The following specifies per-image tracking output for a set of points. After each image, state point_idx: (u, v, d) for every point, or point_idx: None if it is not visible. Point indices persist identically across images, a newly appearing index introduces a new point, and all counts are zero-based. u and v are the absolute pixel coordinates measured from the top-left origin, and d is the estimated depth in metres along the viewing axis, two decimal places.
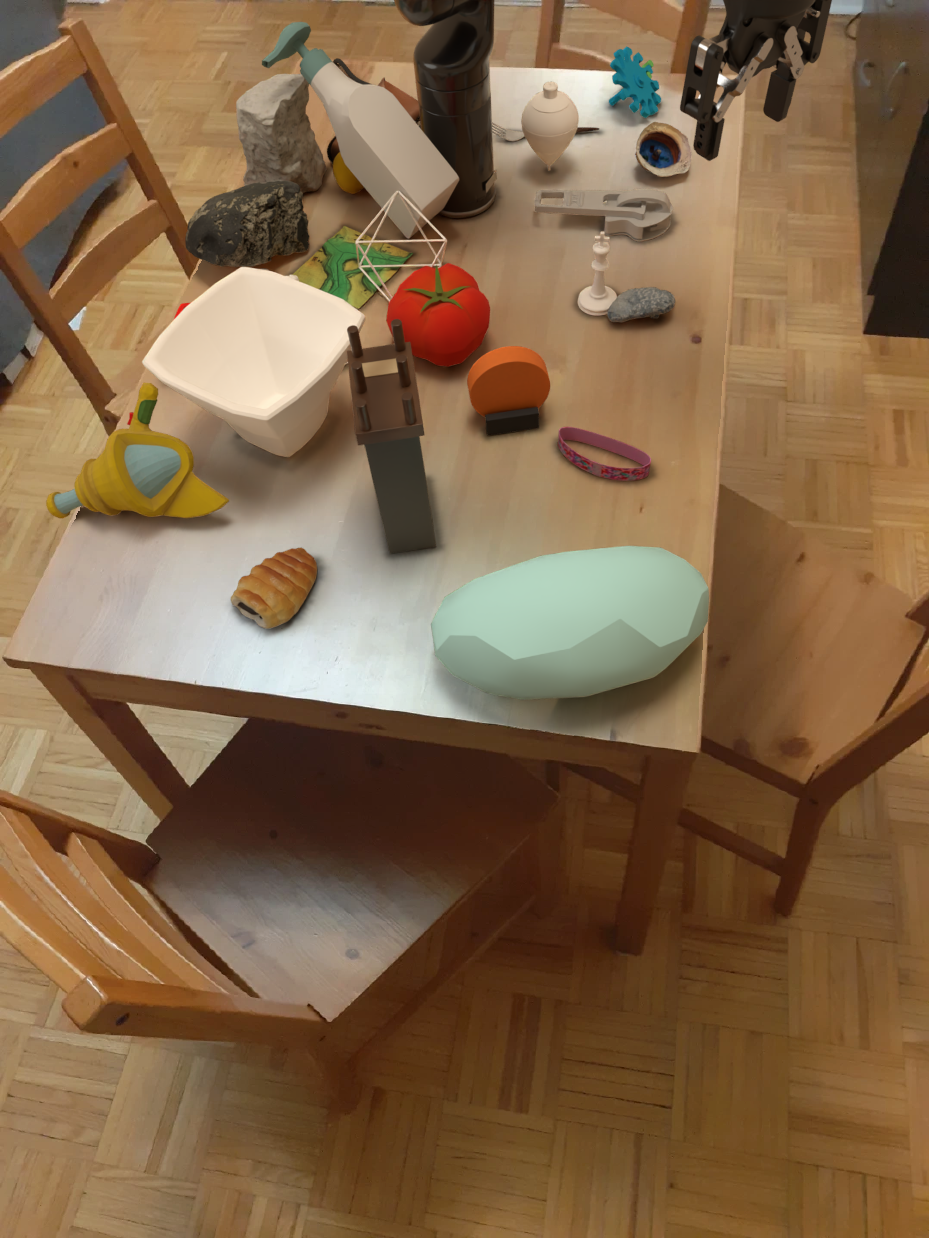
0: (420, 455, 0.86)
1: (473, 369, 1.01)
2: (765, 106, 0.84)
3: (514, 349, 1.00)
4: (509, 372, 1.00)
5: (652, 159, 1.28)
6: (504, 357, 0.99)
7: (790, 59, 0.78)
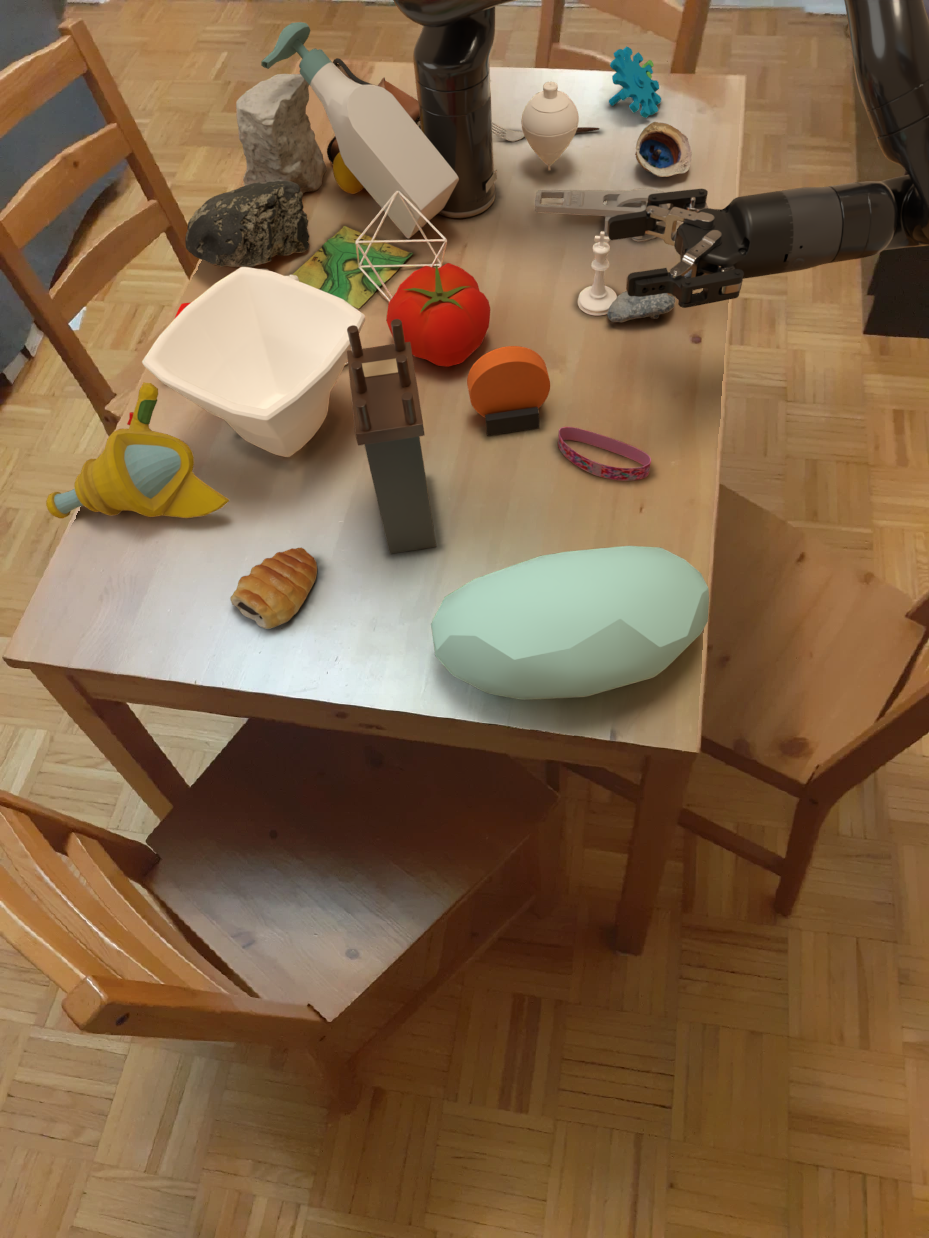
0: (420, 455, 0.86)
1: (473, 369, 1.01)
2: (617, 222, 0.92)
3: (514, 349, 1.00)
4: (509, 372, 1.00)
5: (652, 159, 1.28)
6: (504, 357, 0.99)
7: (674, 245, 0.93)
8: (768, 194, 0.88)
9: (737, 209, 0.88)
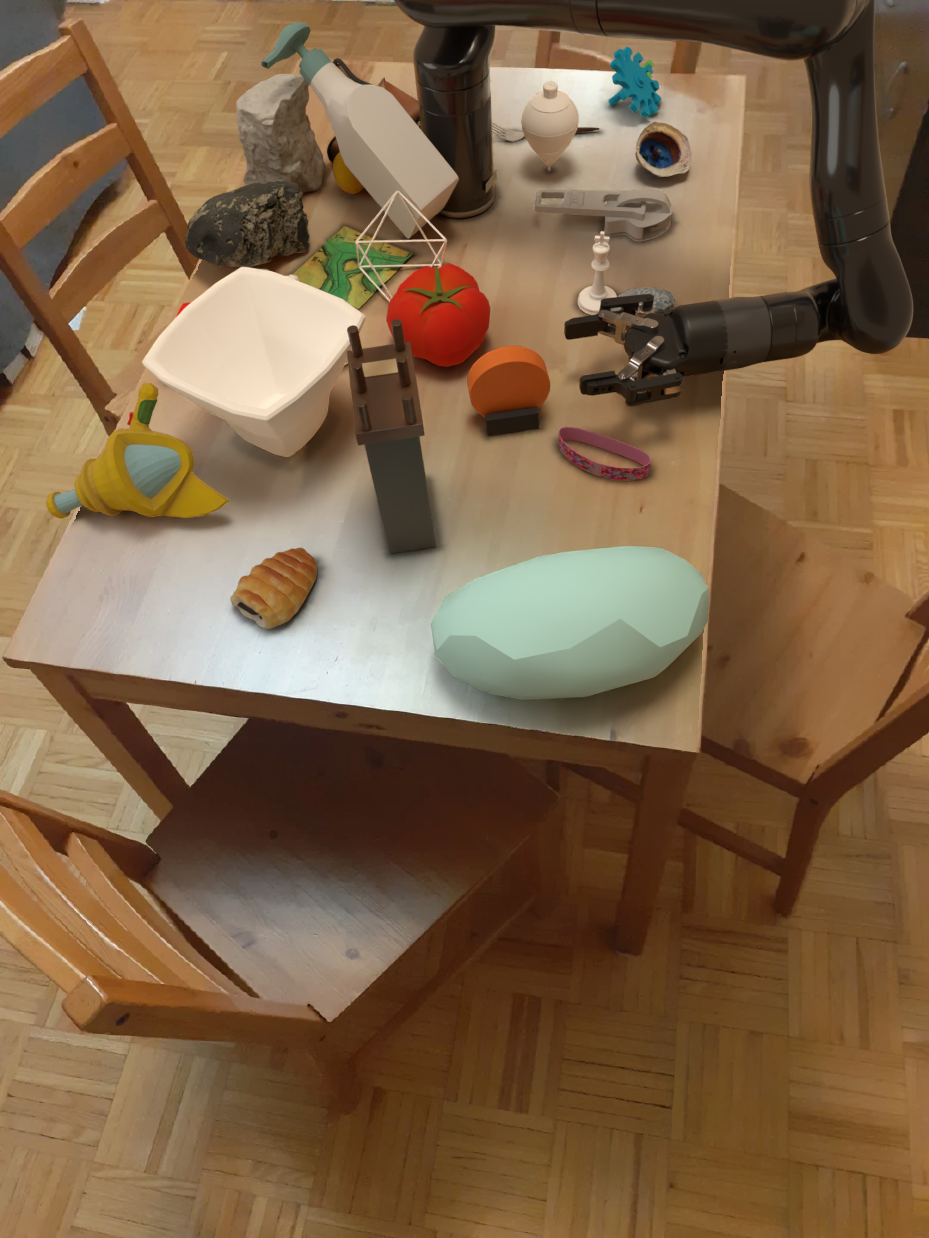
0: (420, 455, 0.86)
1: (473, 369, 1.01)
2: (572, 325, 1.02)
3: (514, 349, 1.00)
4: (509, 372, 1.00)
5: (652, 159, 1.28)
6: (504, 357, 0.99)
7: (624, 344, 1.04)
8: (706, 304, 0.99)
9: (678, 317, 0.99)
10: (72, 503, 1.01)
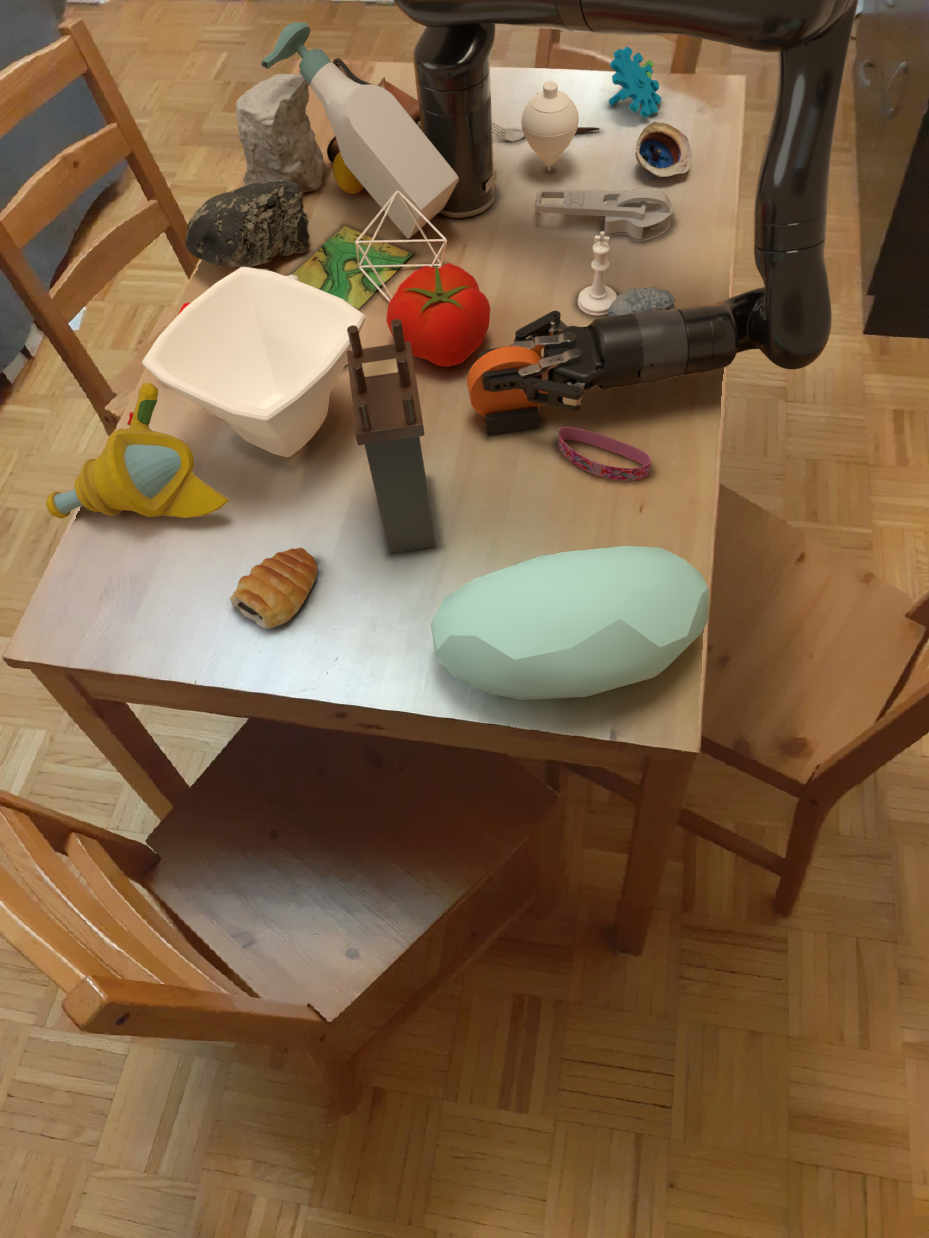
0: (420, 455, 0.86)
1: (473, 369, 1.01)
2: None
3: (514, 349, 1.00)
4: None
5: (652, 159, 1.28)
6: (504, 357, 0.99)
7: None
8: (622, 317, 0.99)
9: (595, 330, 0.99)
10: (72, 503, 1.01)
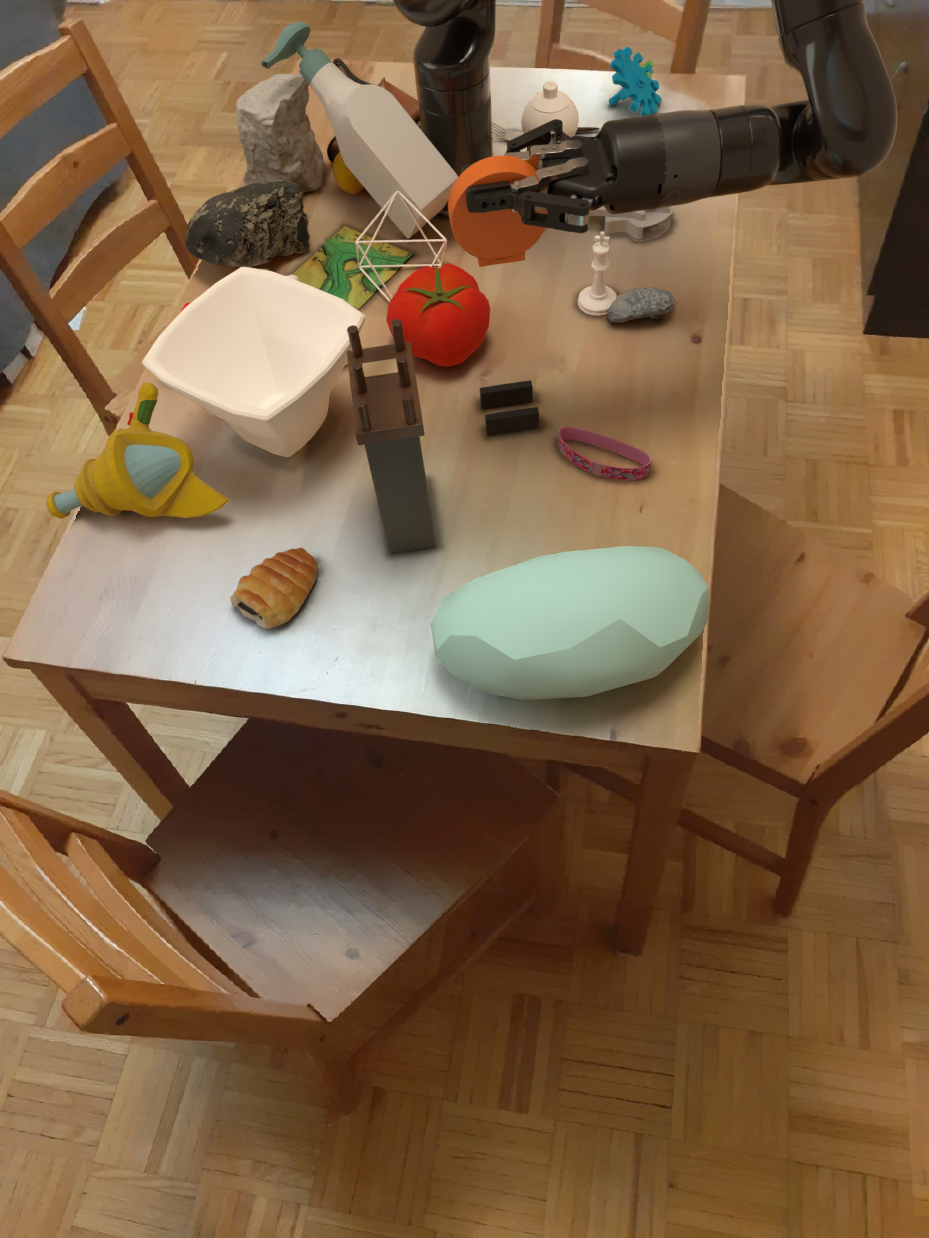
0: (420, 455, 0.86)
1: (455, 187, 0.82)
2: None
3: (505, 159, 0.80)
4: None
5: None
6: (493, 167, 0.80)
7: None
8: (640, 117, 0.80)
9: (606, 134, 0.80)
10: (72, 503, 1.01)
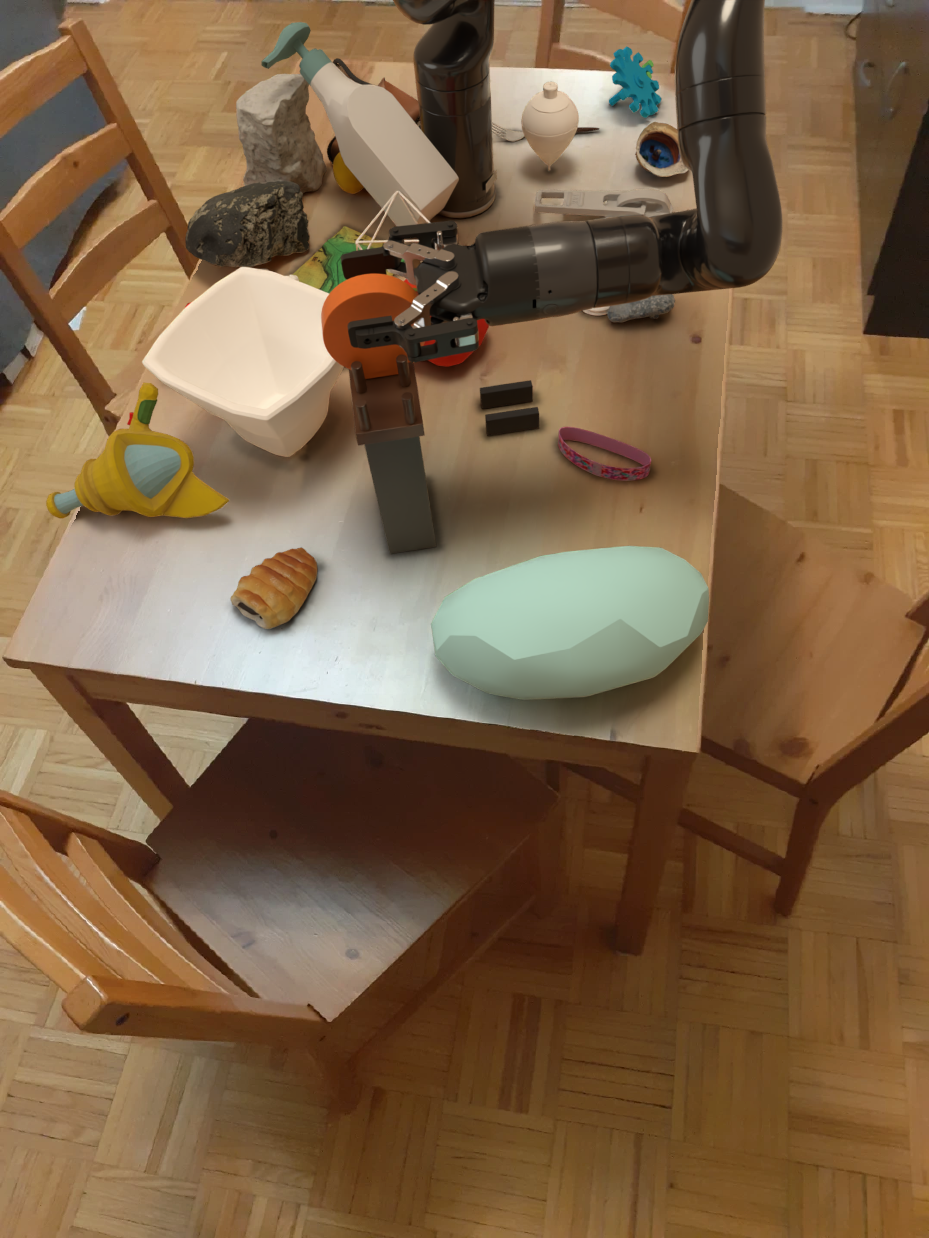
0: (420, 455, 0.86)
1: (325, 304, 0.79)
2: (349, 259, 0.79)
3: (375, 277, 0.77)
4: (370, 307, 0.78)
5: (652, 159, 1.28)
6: (361, 287, 0.77)
7: None
8: (513, 230, 0.76)
9: (477, 247, 0.76)
10: (72, 503, 1.01)
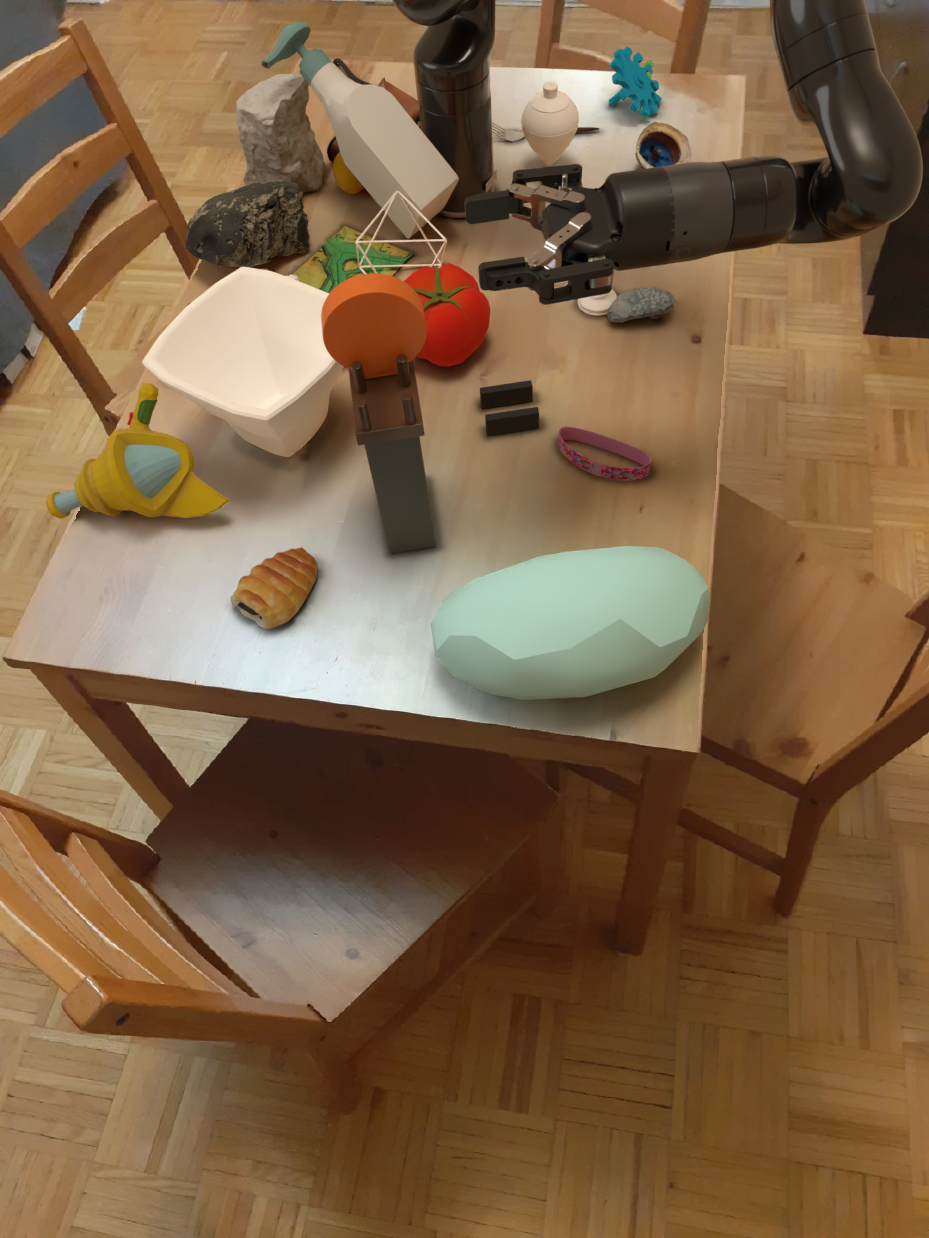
0: (420, 455, 0.86)
1: (325, 304, 0.79)
2: (473, 202, 0.78)
3: (375, 277, 0.77)
4: (370, 307, 0.78)
5: (652, 159, 1.28)
6: (361, 287, 0.77)
7: None
8: (647, 170, 0.74)
9: (610, 187, 0.74)
10: (72, 503, 1.01)
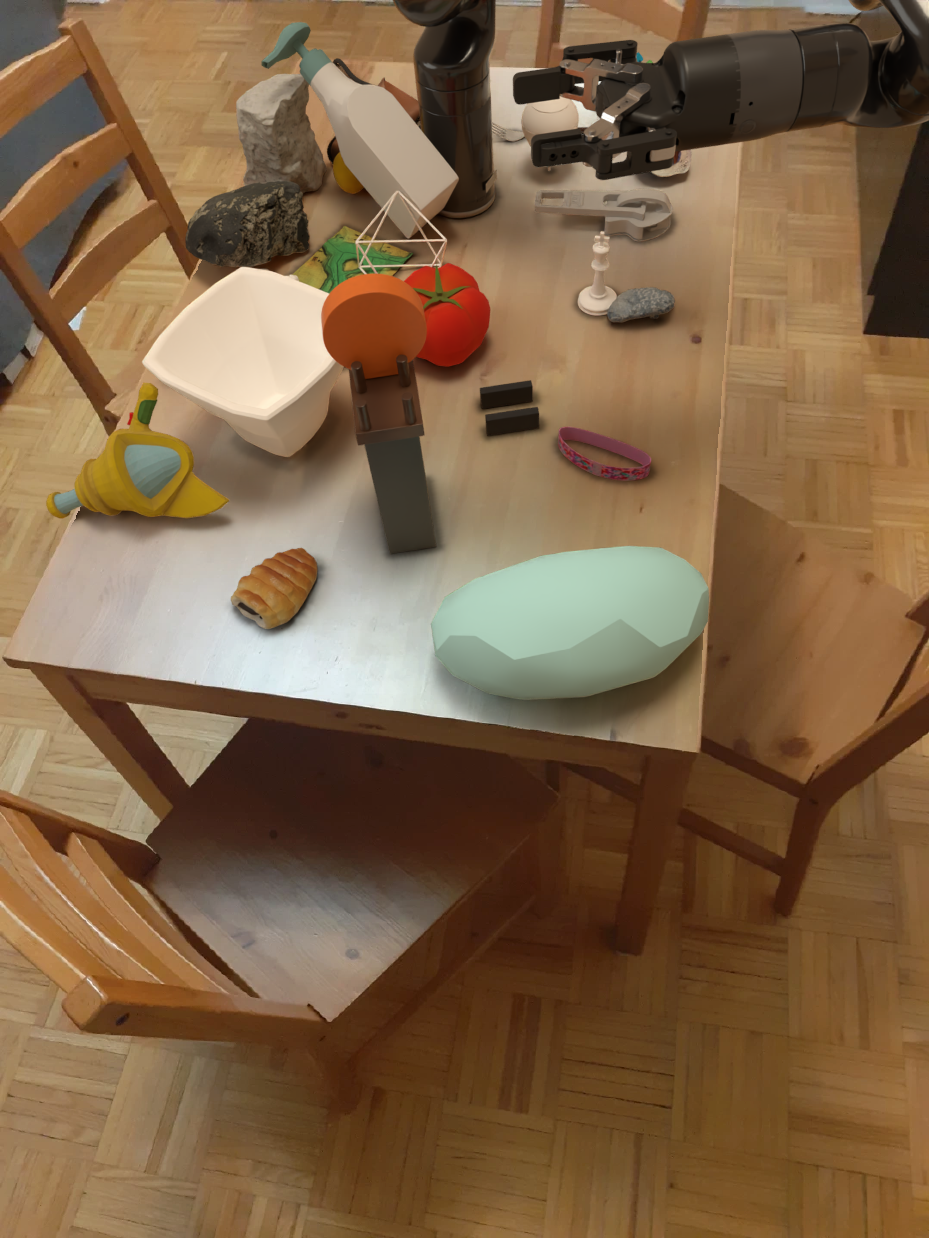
0: (420, 455, 0.86)
1: (325, 304, 0.79)
2: (523, 78, 0.73)
3: (375, 277, 0.77)
4: (370, 307, 0.78)
5: None
6: (361, 287, 0.77)
7: (596, 110, 0.75)
8: (710, 37, 0.70)
9: (671, 56, 0.70)
10: (72, 503, 1.01)
